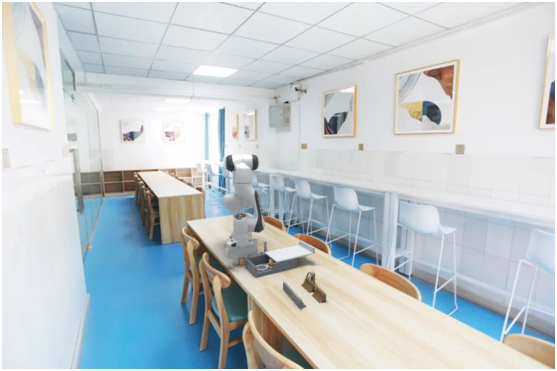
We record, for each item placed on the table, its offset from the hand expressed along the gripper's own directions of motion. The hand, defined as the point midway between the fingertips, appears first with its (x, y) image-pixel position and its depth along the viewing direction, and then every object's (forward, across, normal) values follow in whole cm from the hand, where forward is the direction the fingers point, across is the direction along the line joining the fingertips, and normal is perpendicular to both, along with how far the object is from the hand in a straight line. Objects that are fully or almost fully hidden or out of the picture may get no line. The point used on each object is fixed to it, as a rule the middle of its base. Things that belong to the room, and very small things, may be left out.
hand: (242, 262), depth 173 cm
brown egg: (+2, 0, 0) cm, 2 cm away
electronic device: (+2, -14, -6) cm, 15 cm away
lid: (-5, -26, +13) cm, 30 cm away
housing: (+2, -13, +13) cm, 18 cm away
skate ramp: (+2, -20, +48) cm, 52 cm away
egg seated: (+1, -14, +13) cm, 19 cm away
